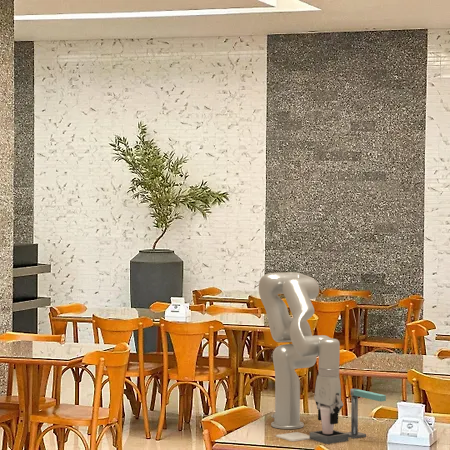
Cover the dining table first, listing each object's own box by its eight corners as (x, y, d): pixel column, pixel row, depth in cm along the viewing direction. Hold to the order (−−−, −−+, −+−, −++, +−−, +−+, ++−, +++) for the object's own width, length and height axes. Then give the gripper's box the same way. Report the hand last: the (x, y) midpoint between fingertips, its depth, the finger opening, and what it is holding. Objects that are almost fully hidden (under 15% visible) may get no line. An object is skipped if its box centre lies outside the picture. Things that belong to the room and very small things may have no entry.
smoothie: (317, 431, 367) (318, 392, 367) (334, 430, 368) (335, 392, 368) (320, 435, 361) (321, 396, 361) (338, 435, 362) (338, 396, 361)
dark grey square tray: (309, 439, 365) (309, 432, 365) (331, 435, 371) (331, 429, 371) (326, 444, 357) (326, 437, 357) (348, 440, 362) (348, 433, 362)
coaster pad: (275, 436, 369) (275, 435, 369) (297, 433, 375) (297, 432, 375) (291, 441, 361) (291, 439, 361) (313, 438, 366) (313, 436, 366)
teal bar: (348, 394, 371) (348, 389, 371) (355, 393, 372) (355, 388, 372) (380, 401, 356) (380, 396, 356) (386, 400, 357) (386, 395, 357)
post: (342, 435, 371) (343, 395, 371) (355, 433, 374) (355, 393, 374) (353, 438, 366) (353, 397, 366) (366, 436, 369) (366, 396, 369)
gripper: (306, 370, 369) (305, 418, 370) (335, 377, 355) (335, 427, 355) (322, 368, 373) (321, 416, 374) (352, 375, 359) (351, 425, 359)
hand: (327, 421), depth 364 cm, fingers closed on smoothie, 6 cm apart
